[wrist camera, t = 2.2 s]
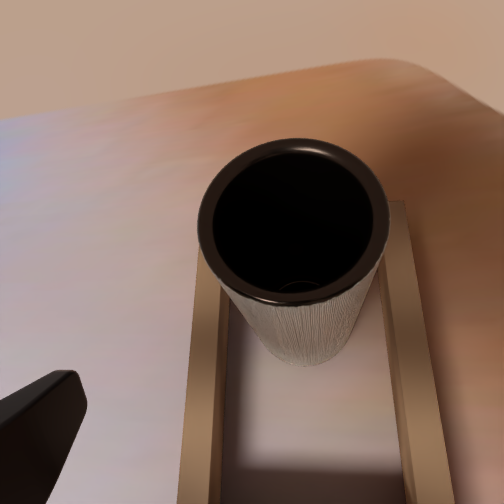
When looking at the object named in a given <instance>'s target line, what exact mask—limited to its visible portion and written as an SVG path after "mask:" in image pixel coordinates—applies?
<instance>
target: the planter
mask: <svg viewBox="0 0 504 504" xmlns="http://www.w3.org/2000/svg"><path fill="white" fill-rule="evenodd" d="M390 225H391V215H390V207H389V202H388V199H387V196H386V193H385V191H384V188H383V186H382V184H381V182H380V181H379V179H378V178H377V176H376V175H375V174H374V172H373V171H372V170H371V169H370V168H369V167H368V166H367V165H366V164H365V163H364V162H363V161H362V160H361V159H359V158H358V157H357V156H355V155H354V154H352V153H351V152H349V151H347V150H345V149H343V148H341V147H339V146H337V145H334V144H331V143H328V142H324V141H320V140H315V139H307V138H289V139H280V140H275V141H271V142H267V143H264V144H261V145H258V146H256V147H253V148H251V149H249V150H247V151H245V152H244V153H242V154H240V155H239V156H237V157H236V158H234V159H233V160H232V161H230V162H229V163H228V164H227V165H226V166H225V167H224V168H223V169H222V170H221V171H220V172H219V173H218V174H217V175H216V176H215V178H214V179H213V180H212V182H211V183H210V185H209V187H208V188H207V190H206V192H205V194H204V196H203V199H202V202H201V205H200V208H199V213H198V220H197V235H198V242H199V246H200V249H201V252H202V255H203V257H204V260H205V262H206V263H207V265H208V267H209V269H210V270H211V272H212V273H213V275H214V276H215V277H216V279H217V280H218V282H219V283H220V284H221V286H222V287H223V289H224V290H225V291H226V293H227V294H228V296H229V297H230V298H231V300H232V301H233V302H234V304H235V305H236V307H237V308H238V309H239V311H240V312H241V314H242V315H243V316H244V318H245V319H246V320H247V322H248V323H249V325H250V326H251V327H252V329H253V330H254V332H255V333H256V334H257V336H258V337H259V338H260V340H261V341H262V343H263V344H264V345H265V347H266V348H267V349H268V350H269V351H270V352H271V353H272V354H274V355H275V356H276V357H278V358H279V359H281V360H282V361H284V362H287V363H289V364H293V365H297V366H313V365H317V364H321V363H323V362H325V361H328V360H329V359H331V358H332V357H334V356H335V355H336V354H337V353H338V352H339V351H340V350H341V349H342V348H343V346H344V345H345V343H346V342H347V340H348V338H349V336H350V333H351V331H352V329H353V326H354V324H355V321H356V319H357V316H358V314H359V312H360V309H361V307H362V304H363V302H364V300H365V297H366V295H367V292H368V290H369V287H370V285H371V283H372V280H373V278H374V275H375V273H376V271H377V268H378V266H379V263H380V261H381V258H382V256H383V253H384V251H385V248H386V245H387V242H388V238H389V233H390Z"/></svg>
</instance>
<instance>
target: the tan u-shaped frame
mask: <svg viewBox="0 0 504 504" xmlns="http://www.w3.org/2000/svg"><path fill="white" fill-rule="evenodd" d="M389 207H390V215H391V225H390V233H389V238H388V242H387V245H386V248H385V251H384V253H383V256H382V258H381V261H380V263H379V266H378V268H377V270H378V278H379V286H380V294H381V302H382V310H383V318H384V326H385V335H386V343H387V351H388V359H389V367H390V375H391V383H392V391H393V399H394V407H395V415H396V423H397V431H398V439H399V447H400V456H401V464H402V472H403V480H404V488H405V496H406V504H455V502H454V496H453V490H452V484H451V478H450V472H449V466H448V460H447V454H446V448H445V442H444V436H443V430H442V424H441V418H440V412H439V406H438V401H437V395H436V389H435V383H434V377H433V371H432V365H431V359H430V353H429V347H428V341H427V335H426V329H425V323H424V317H423V311H422V305H421V300H420V294H419V288H418V282H417V276H416V270H415V264H414V258H413V252H412V246H411V240H410V234H409V228H408V222H407V216H406V210H405V204H404V201H389ZM229 302H230V297H229V296H228V294H227V293H226V291H225V290H224V289H223V287H222V286H221V284H220V283H219V282H218V280H217V279H216V277H215V276H214V275H213V273H212V272H211V270H210V269H209V267H208V265H207V263H206V262H205V260H204V257H203V255H202V252H201V249H200V246H199V252H198V263H197V275H196V286H195V298H194V309H193V321H192V333H191V344H190V356H189V367H188V379H187V390H186V402H185V414H184V425H183V437H182V448H181V460H180V471H179V483H178V494H177V504H220V495H221V473H222V452H223V431H224V409H225V388H226V366H227V345H228V324H229Z"/></svg>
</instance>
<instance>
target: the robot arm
mask: <svg viewBox="0 0 504 504" xmlns="http://www.w3.org/2000/svg"><path fill="white" fill-rule="evenodd" d="M86 410H87V398H86V395H85V392H84V389H83V386H82V383H81V380H80V377H79V375H78V373H77V372H76V371H74V370H56V371H53V372H51V373H49V374H47V375H46V376H44V377H42V378H40V379H38V380H36V381H35V382H33V383H31V384H29V385H27V386H25V387H24V388H22V389H20V390H18V391H16V392H14V393H13V394H11V395H9V396H7V397H5V398H3V399H2V400H0V504H46V502H47V500H48V498H49V496H50V494H51V492H52V490H53V488H54V486H55V484H56V482H57V480H58V478H59V475H60V473H61V471H62V468H63V466H64V464H65V461H66V459H67V457H68V454H69V452H70V449H71V447H72V445H73V442H74V440H75V438H76V435H77V433H78V431H79V428H80V426H81V423H82V421H83V419H84V416H85V414H86Z"/></svg>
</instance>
